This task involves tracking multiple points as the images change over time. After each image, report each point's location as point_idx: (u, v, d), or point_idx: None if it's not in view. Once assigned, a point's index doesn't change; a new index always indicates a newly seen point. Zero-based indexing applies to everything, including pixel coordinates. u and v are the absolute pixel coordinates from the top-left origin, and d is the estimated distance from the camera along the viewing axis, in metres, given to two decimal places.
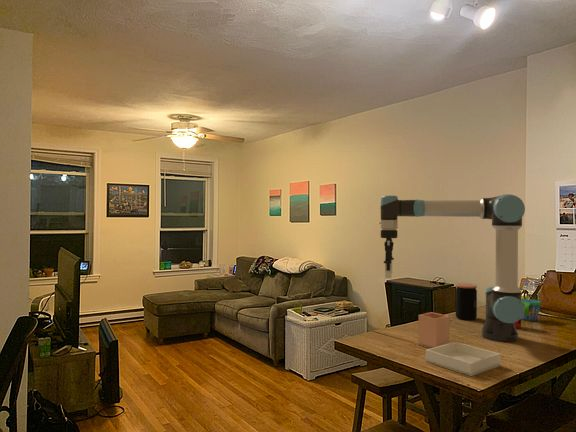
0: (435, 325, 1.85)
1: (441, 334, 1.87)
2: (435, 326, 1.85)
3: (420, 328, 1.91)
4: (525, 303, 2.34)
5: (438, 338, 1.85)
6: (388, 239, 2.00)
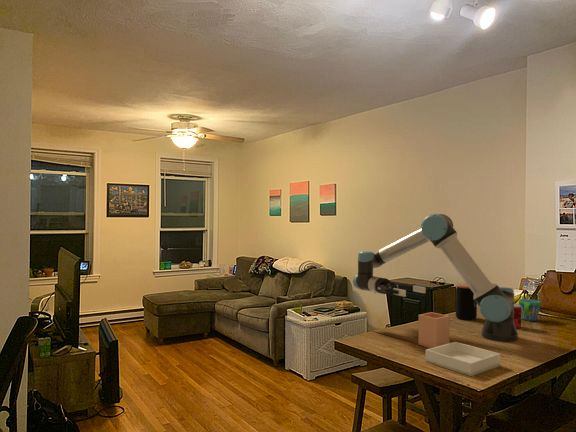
0: (435, 325, 1.85)
1: (441, 334, 1.87)
2: (435, 326, 1.85)
3: (420, 328, 1.91)
4: (525, 303, 2.34)
5: (438, 338, 1.85)
6: None
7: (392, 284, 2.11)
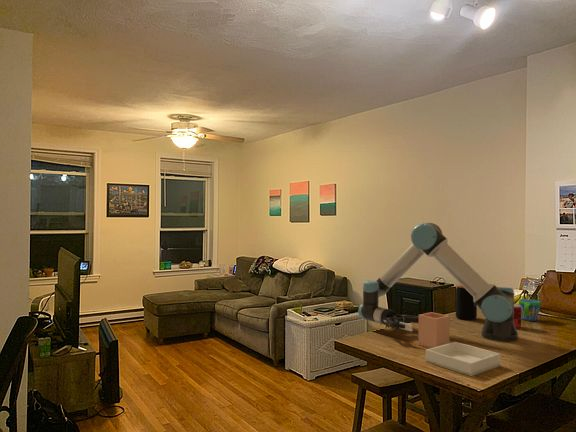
0: (435, 325, 1.85)
1: (441, 334, 1.87)
2: (435, 326, 1.85)
3: (420, 328, 1.91)
4: (525, 303, 2.34)
5: (438, 338, 1.85)
6: None
7: (398, 316, 2.08)
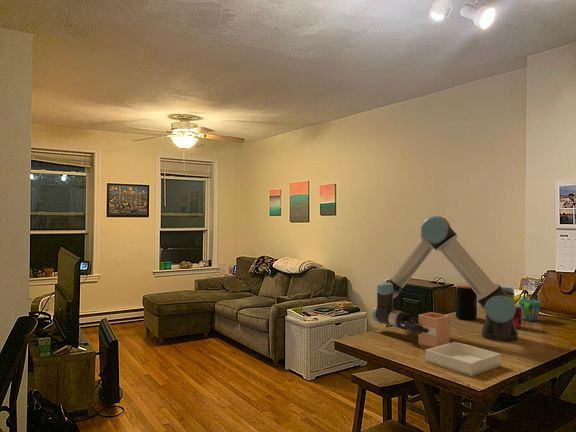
0: (435, 325, 1.85)
1: (441, 334, 1.87)
2: (435, 326, 1.85)
3: None
4: (525, 303, 2.34)
5: (438, 338, 1.85)
6: None
7: (414, 319, 2.00)
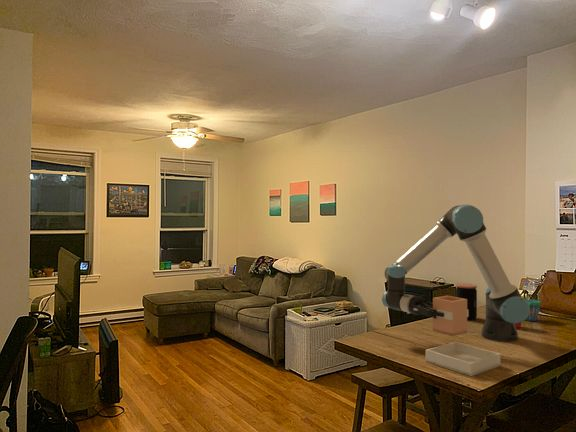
0: (451, 308, 1.68)
1: (458, 319, 1.70)
2: (451, 310, 1.68)
3: None
4: None
5: (454, 323, 1.69)
6: None
7: (428, 304, 1.84)
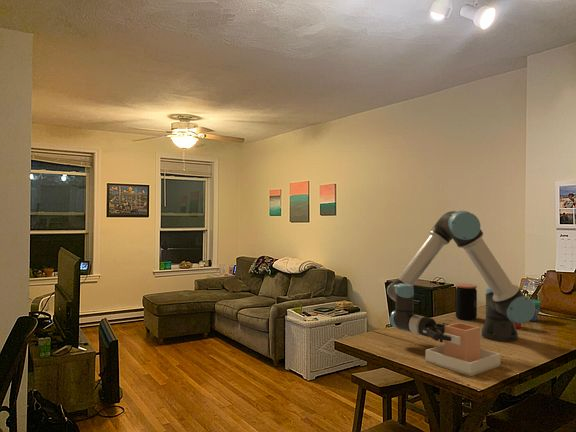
0: (465, 338, 1.62)
1: (471, 348, 1.64)
2: (465, 339, 1.62)
3: (446, 341, 1.69)
4: None
5: (468, 353, 1.63)
6: None
7: (439, 326, 1.78)
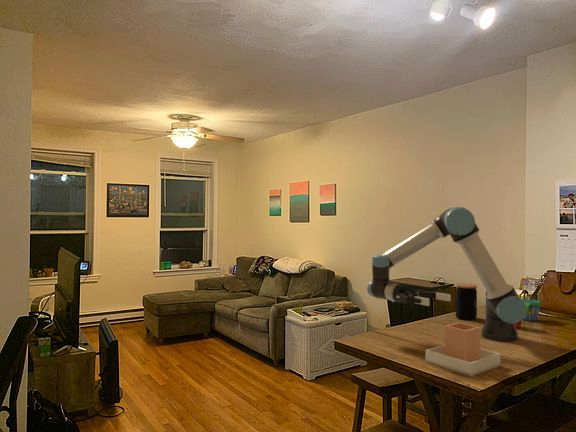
0: (465, 338, 1.62)
1: (471, 348, 1.64)
2: (465, 339, 1.62)
3: (446, 341, 1.69)
4: (525, 303, 2.34)
5: (468, 353, 1.63)
6: None
7: (412, 291, 1.88)
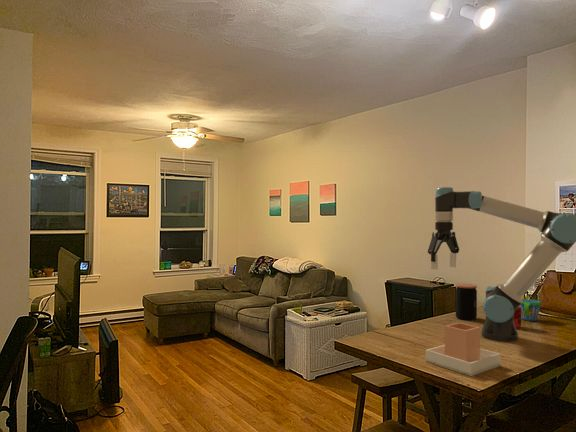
0: (465, 338, 1.62)
1: (471, 348, 1.64)
2: (465, 339, 1.62)
3: (446, 341, 1.69)
4: (525, 303, 2.34)
5: (468, 353, 1.63)
6: (438, 231, 2.01)
7: (447, 237, 2.02)
